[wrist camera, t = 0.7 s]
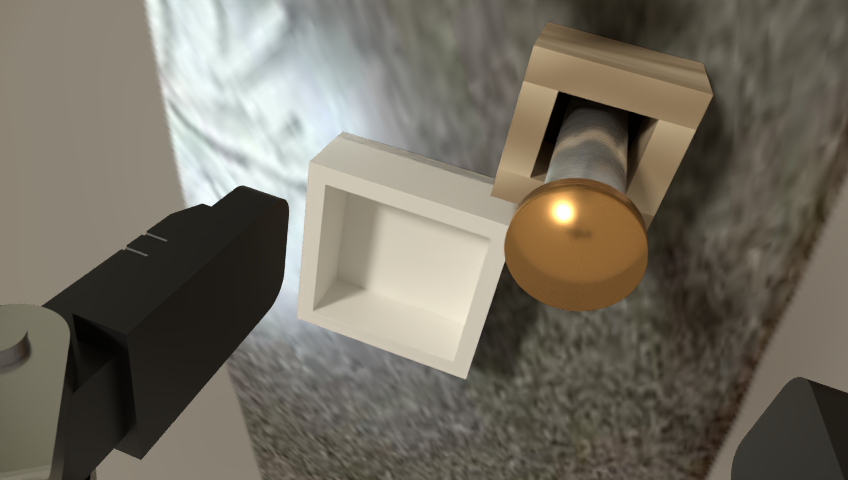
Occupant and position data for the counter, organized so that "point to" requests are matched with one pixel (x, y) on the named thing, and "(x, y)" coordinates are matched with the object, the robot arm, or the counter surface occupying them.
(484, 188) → the tray
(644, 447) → the counter surface
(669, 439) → the counter surface
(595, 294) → the pin
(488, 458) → the counter surface
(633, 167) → the pin block
